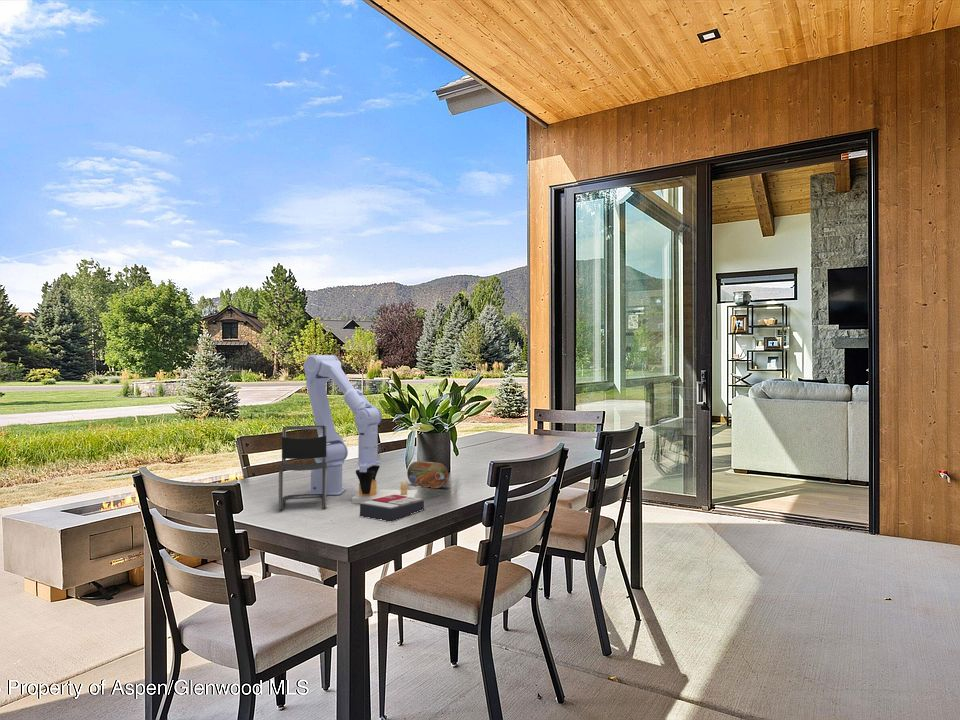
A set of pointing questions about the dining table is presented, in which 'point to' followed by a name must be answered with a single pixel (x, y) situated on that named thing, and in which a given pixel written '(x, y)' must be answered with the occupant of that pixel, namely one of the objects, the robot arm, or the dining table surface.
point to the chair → (303, 451)
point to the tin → (427, 474)
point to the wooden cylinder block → (372, 491)
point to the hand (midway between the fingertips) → (367, 491)
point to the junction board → (386, 494)
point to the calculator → (391, 507)
